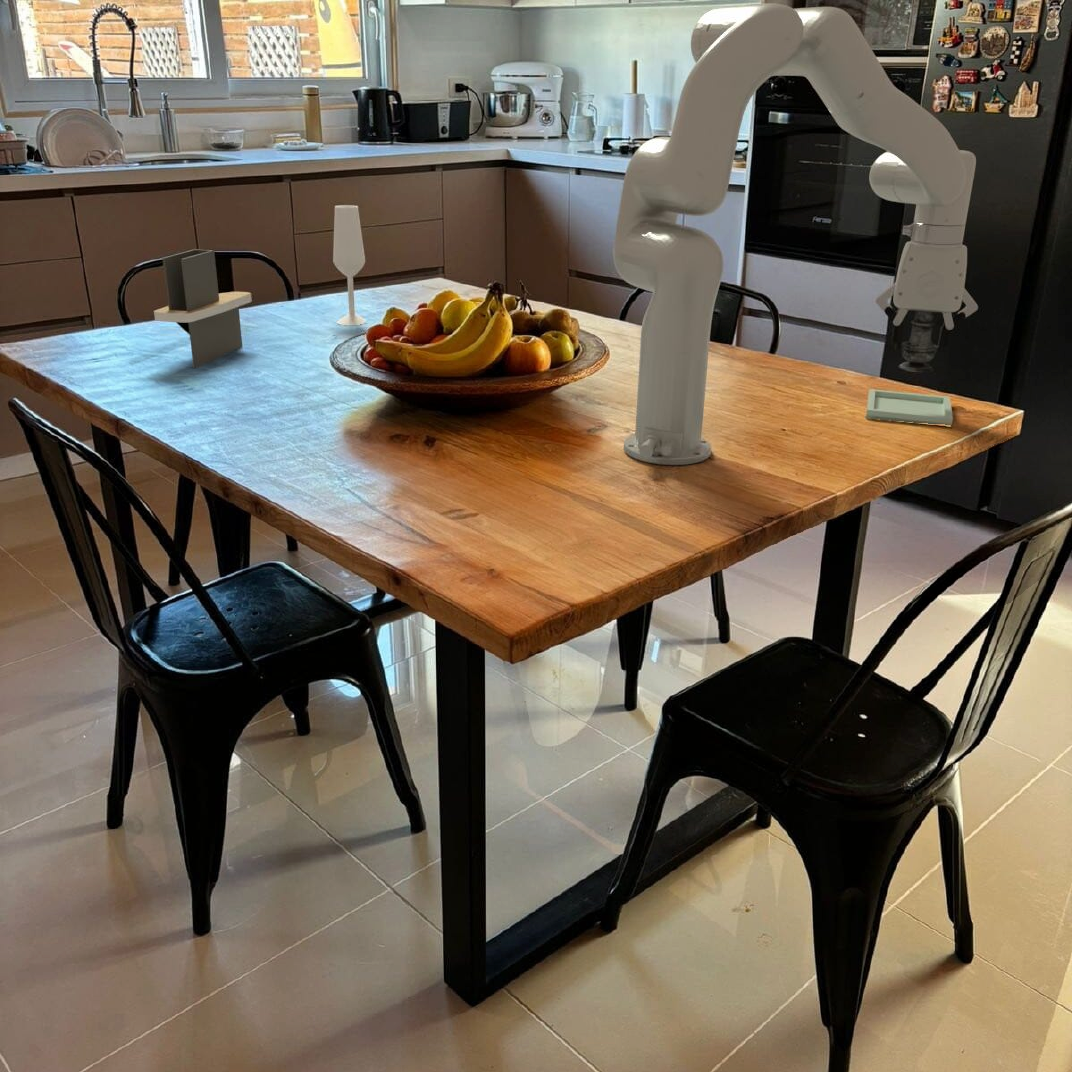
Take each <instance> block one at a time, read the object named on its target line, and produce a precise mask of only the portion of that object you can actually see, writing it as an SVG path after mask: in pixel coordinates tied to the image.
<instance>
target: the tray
mask: <svg viewBox="0 0 1072 1072" xmlns="http://www.w3.org/2000/svg"><path fill="white" fill-rule="evenodd" d="M866 403H867V405H866V413H865V419H866V420H872V419H880V420H879V421H882V420H891V421H904V422H913V423H928V424H945V425H953V419H954V417H953V411H952V410H953V409H952V404H951V396H947V395H946V396H944V395H934V394H925V393H913V392H906V391H905V392H904V391H903V392H902V391H892V390H883V389H873V388H869V389H868V396H867V402H866ZM891 421H890V422H891Z"/></svg>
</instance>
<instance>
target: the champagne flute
mask: <svg viewBox="0 0 1072 1072" xmlns="http://www.w3.org/2000/svg"><path fill="white" fill-rule="evenodd" d="M360 220H361V219H360V212H359V206H358V205H350V204H347V205H346V204H344V205H343V204H341V205H335V206H334V221H333V226H334V227H333V250H332V252H333V253H332V254H333V255H332V262H333V264H334V266H335V267H336V269H338V271H339V272H340V273H342V275H344V276H346V277H347V278H346V279H347V297H348V313H347V314H346V315H345V316H343V317H342V318H340V319H339V320H338V321H336V323H337V324H338V325H341V326H361V325H360V324H363V323H365V322H366V320H367V319H365V318H364V317H362V316H360V315H358V314H357V313H355V294H354V293H355V292H354V277H355V276H356V275H357V274H358V273H359V272H360V271H361V270H362V268H363V267H364V265H365V263H366V255H365V248H364V241H363V234H362V226H361V221H360ZM363 325H364V324H363Z"/></svg>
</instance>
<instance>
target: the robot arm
mask: <svg viewBox="0 0 1072 1072" xmlns="http://www.w3.org/2000/svg"><path fill="white" fill-rule="evenodd" d="M690 49H691V55H692V58H693V61H694V62H695V65H693V67H692V69H691V71H690V72H689V73H688V76H687V78H686V80H685V82H684V85H683V87H682V89H681V92H680V97H679V100H678V104H677V107H676V108H677V109H676V112H675V118H674V121H673V126H672V130H671V135H670V136H658V137H654V138H651V139H649V140H647V141H645V142H644V143H643V144H642V145H640V147H638V148H637V150H635V151H634V153H633V155H632V157H631V159H630V161H629V163H628V164H627V168H626V170H625V174H624V178H623V179H624V180H623V183H622V189H621V194H620V201H619V202H620V203H619V208H618V213H617V218H616V219H617V220H616V225H615V233H614V239H613V251H612V252H613V263H614V266H615V270H616V272H617V273H618V276H619V277H620V278H621V279H622V280H623V281H624V282H626V283H628V284H629V285H631V286H633V287H636V288H639V289H641V290H645V291H647V292H651V293H652V296H651V298H650V301H649V304H648V306H647V307H646V308H647V309H646V311H645V313H644V316H643V319H642V324H641V329H640V343H639V344H640V348H639V362H638V364H639V365H638V376H637V377H638V379H637V380H638V381H637V396H636V400H637V401H636V413H635V414H636V415H635V430H634V434H631V435H629V436H628V437H626V438H625V439H624V441H623V451H624V452H625V453H626V454H627V455H628V456H629V457H631V458H633V459H635V460H638V461H641V462H645V463H649V464H656V465H664V466H683V465H691V464H696V463H700V462H703V461H705V460H707V459H708V458H709V457H710V456H711V454H712V445H711V444H710V442H709V441H708V440H706V439H705V438H702V434H703V433H702V432H703V421H704V410H705V397H706V386H707V385H706V384H707V377H708V376H707V374H708V365H709V364H708V363H709V352H710V340H711V330H712V320H713V315H714V314H713V313H714V309H715V304H716V301H717V300H716V299H717V296H718V292H719V290H720V289H719V288H720V285H721V281H722V278H723V273H724V258H723V253H722V250H721V247H720V246H719V244H718V242H717V241H716V240H715V239H714V238H713V237H712V236H711V235H710V234H709V233H706V232H705V231H703V230H701V229H699V228H696V227H692V226H687V225H683V224H679V223H677V219H678V214H679V215H684V216H688V217H704V216H709V215H712V214H713V213H715V212H716V211H718V209H720V208H721V206H722V205H723V203H724V201H725V199H726V195H727V193H728V189H729V184H730V180H731V175H732V169H733V165H734V159H735V154H736V150H737V145H738V139H739V136H740V135H739V134H740V129H741V125H742V121H743V117H744V114H745V111H746V110H747V106H748V104H749V103H750V100H751V99H752V97H753V95H754V94H755V92H757V90H758V89H759V88H760V87H761V86H762V85H763V84H764V83H765V82H766V81H767V80H769V78H771V77H776V76H778V77H779V76H780V77H781V76H782V77H783V76H784V77H785V76H789V77H790V76H791V77H792V76H793V77H794V76H796V77H805V78H806V79H807V80H808V81H809V83H810V84H811V86H812V88H813V90H815V92H816V93H817V95H818V96H819V98H820V99H821V101H822V103H823V104H824V105H825V107H826V108H827V110H828V111H829V113H830V115H831V116H832V118H833V119H834V121H835V122H836V123H837V126H838V127H840V128H841V130H843V131H845V132H847V133H848V134H850V135H851V136H853V137H855V138H857V139H860V140H861V141H864V142H865V143H868V144H871V145H874V146H876V147H878V148H881V149H883V150H885V152H883V153H882V154H880V155H879V156H878V157H877V158H876V159H875V161H873V164H872V165H871V167H870V170H869V177H868V180H869V184H870V186H871V190H872V191H873V192H874V193H875V194H876V196H878V197H880V198H882V199H884V200H886V201H890V202H894V203H895V202H896V203H902V204H912V205H916V206H915V212H914V218H913V223H911V224H908V225H903V227H902V235H904V236H905V235H907V236H908V237H909V238H910V241H906V243H904V244H905V245H904V247H903V250H902V253H901V257H900V260H899V264H898V268H897V274H896V278H895V282H894V283H892V284H891V285H890V286H889V287H888V288H886V289H885V291H884V290H883V292H882V293H881V294H879V295H878V296H877V297H876V298H875V303H876V304H877V305H878V306H879V308H880V309H881V310H882V311H883V312H884V313H885V315H886V316H887V317H888V318H889V320H890V321H891V323H893V331H892V337H891V345H894V346H895V347H894V348H895V349H894V351H896V352H898V351H900V350H901V348H902V347H901V343H902V341H903V340H902V338H903V332H904V328H905V325H904V323H903V322H904V319H905V316H906V315H907V314H908V311H930V312H934V313H942V318H943V319H944V322H943V323H942V326H941V327H940V330H939V337H938V343H937V346H938V350H937V351H936V353H937V354H938V355H943V352H944V349H948V348H949V343H950V338H951V337H950V336H951V332H952V331H951V330H953V329H954V327H956V326H957V325H959V324H960V323H961V322H963V321H964V320H965V319H966V318H967V317H969V316H971V315H972V314H973V313H976V311H978V309H979V306H978V304H977V302H976V301H975V300H974V298H973V297H972V296H971V294H969V292H968V291H967V289H966V288H965V283H966V275H967V267H968V248H967V247H968V246H966V245H964V244H963V242H964V236H965V230H966V229H965V228H966V223H967V219H968V218H967V217H968V212H969V206H970V201H971V195H972V190H973V182H974V179H975V172H976V165H977V159H976V155H975V154H974V153H973V152H971V151H968V150H965V149H964V150H962V149H961V150H960V149H959V148H958V145H957V144H956V141H954V138H953V137H952V136H951V133H950V132H949V131H948V129H947V128H946V127H945V126H944V125H943V123H941V121H939V120H938V118H936V117H935V116H934V115H933V114H932V113H931V112H929V111H928V110H926V109H925V108H924V107H922V106H921V105H920V104H919V103H917V102H916V101H915V100H914V99H913V98H911V97H910V96H909V95H907V94H906V93H904V92H903V91H901V90H900V89H898V88H897V87H896V86H895V85H894V84H893V82H892V81H891V79H890V78H889V77H888V75H887V73H886V70H884V68H883V66H882V64H881V63H880V61H879V59H878V58H877V56H876V55H875V53H874V51H873V50H872V48H871V45H870V44H869V43H868V41H867V39H866V37H864V34H863V33H862V31H861V30H860V28H859V26H858V25H857V23H856V22H855V20H854V18H853V17H852V16H851V15H850V14H849V13H848V12H847V11H845V10H843V9H842V8H839V7H835V6H817V7H816V6H815V7H800V8H799V7H798V8H797V7H796V8H793V7H790V5H789V6H788V5H786V4H781V3H773V2H769V3H768V2H765V3H764V2H763V3H753V4H752V3H751V4H750V3H749V4H744V5H731V6H730V5H729V6H719V7H715V8H713V9H711V10H709V11H708V12H705V13H704V14H703V15H702V16H701V17H700V18H699V19H698V21H697V23H696V24H695V25H694V28H693V31H692V33H691V38H690ZM891 297H893V301H892V303H893V304H894V306H895V307H896V308H897V311H896V310H895V309H894V308H893V306H892V305H891V304H890V303H889V302H888V300H889V299H890V298H891ZM962 303H964V304H965V307H964V308H962V309H961V310H960V308H961V306H962ZM955 312H956V313H955ZM952 313H955V314H954V315H953V314H952Z"/></svg>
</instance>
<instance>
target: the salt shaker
mask: <svg viewBox="0 0 1072 1072" xmlns="http://www.w3.org/2000/svg"><path fill="white" fill-rule="evenodd" d="M914 311H915V313H914V317H913V320H911V324H912V327H911V333H910V337H909V339H908V340H907V341H904V342H901V347H900V348H901V349H900V350H901V354H902V357H903V358H904V360H905V361H904V362H902V363H900V364H899V365H898V368H900V369H901V370H904V371H907V372H913V373H929V372H933V370H934V368H933V367H932V366H931V364H928V363H929V362H930V361H931V360H933V359H934V357H935V356H936V354H937V350H938V345H936V344H934V343H933V342H932V332H933V327H934V326H935V325H936V322H934V317H935V312H930V311H916V310H914Z"/></svg>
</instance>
